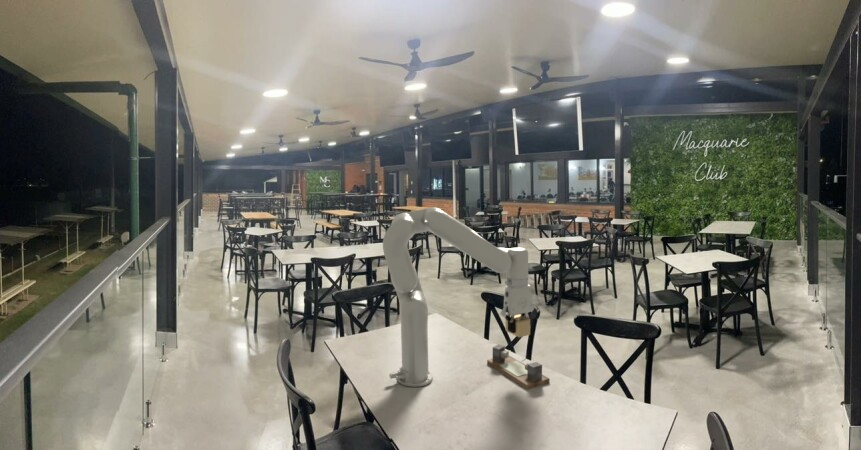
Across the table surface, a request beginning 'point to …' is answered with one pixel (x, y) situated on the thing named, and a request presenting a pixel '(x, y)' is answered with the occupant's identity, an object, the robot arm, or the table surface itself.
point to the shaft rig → (517, 368)
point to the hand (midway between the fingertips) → (517, 329)
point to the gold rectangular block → (520, 326)
